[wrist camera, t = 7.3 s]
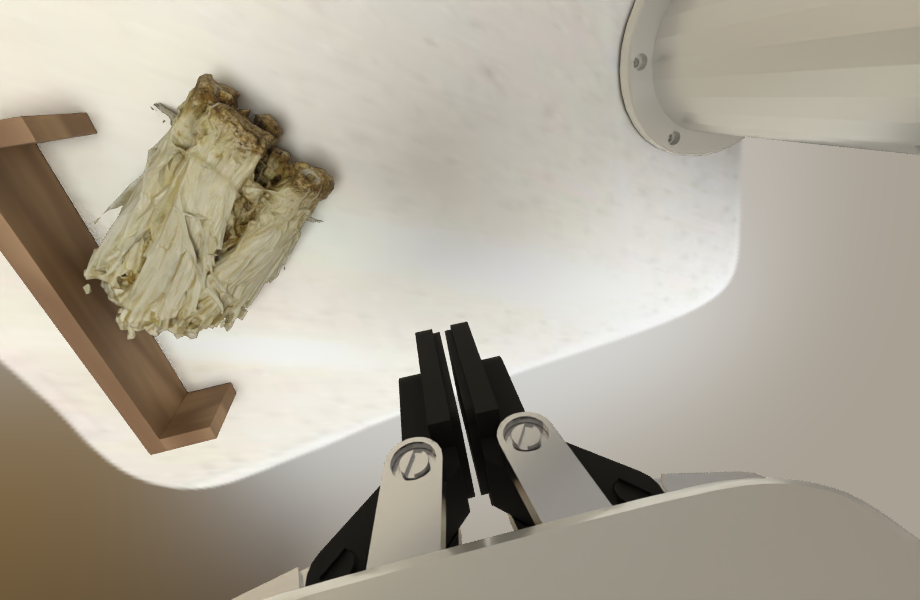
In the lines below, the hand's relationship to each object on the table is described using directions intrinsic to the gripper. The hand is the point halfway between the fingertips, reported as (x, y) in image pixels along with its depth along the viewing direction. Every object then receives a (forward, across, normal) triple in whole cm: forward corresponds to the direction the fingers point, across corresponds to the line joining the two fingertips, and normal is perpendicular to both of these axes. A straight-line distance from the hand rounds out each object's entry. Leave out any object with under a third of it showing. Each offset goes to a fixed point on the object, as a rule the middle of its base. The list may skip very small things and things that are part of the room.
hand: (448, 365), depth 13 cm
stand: (+15, +17, 0) cm, 23 cm away
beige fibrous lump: (+16, +11, -3) cm, 20 cm away
